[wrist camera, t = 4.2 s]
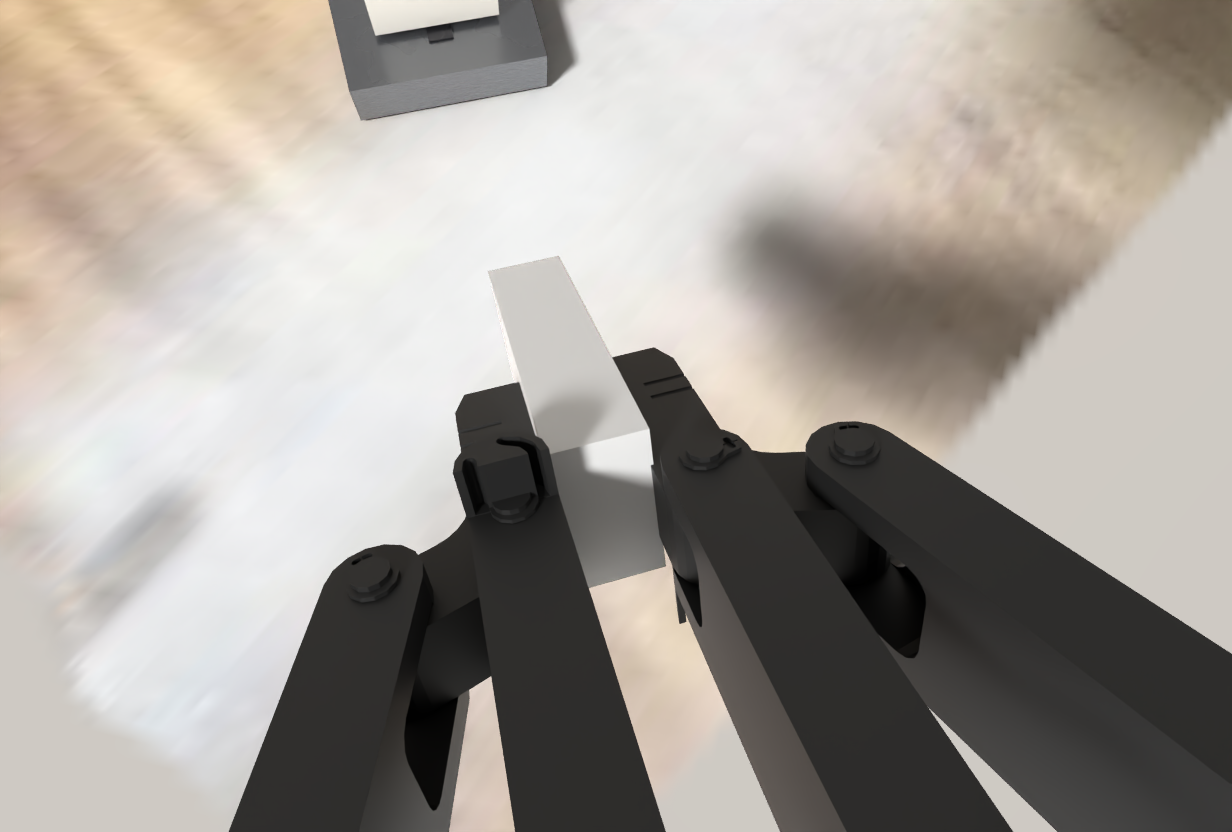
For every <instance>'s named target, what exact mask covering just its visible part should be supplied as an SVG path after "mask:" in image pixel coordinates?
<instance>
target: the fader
mask: <svg viewBox="0 0 1232 832" xmlns="http://www.w3.org/2000/svg"><path fill="white" fill-rule="evenodd" d="M364 1H365V4H366V7H367V11H368V14H369V17H370V20H371V23H372V26H373V30H374V33H375V36H377V35H383V34H389V33H395V32H400V31H406V30H412V29H418V28H424V27H430V26H436V25H441V24H447V23H453V22H459V21H465V20H471V19H476V18H482V17H488V16H494V15H499V7H498V0H364Z"/></svg>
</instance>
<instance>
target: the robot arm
mask: <svg viewBox="0 0 1232 832" xmlns="http://www.w3.org/2000/svg"><path fill="white" fill-rule="evenodd" d="M488 274H489V278H490V283H491V287H492V291H493V295H494V300H495V304H496V308H497V312H498V317H499V321H500V325H501V329H502V334H503V338H504V342H505V347H506V351H507V355H508V359H509V364H510V368H511V372H512V376H513V381H514V383H512V384H508V385H504V386H500V387H495V388H491V389H487V390H483V391H479V392H475V393H470V394H466V395H464V397H463V399H462V401H461V403H460V405H459V407H458V409H457V411H456V413H455V415H456V422H457V428H458V433H459V441H460V446H461V454H460V455H459V456H458V458H457V459H456V460H455V463H454V469H453V475H454V478H455V481H456V484H457V488H458V491H459V494H460V497H461V500H462V504H463V507H464V510H465V513H466V518H465V520H464V521H463V523H462V524H461V525H460V527H459V528H458V529H457V530H456V531H455V532H454V533H453V534H452V535H451V536H450V537H448V538H447V539H446V540H444V541H442V542H441V543H439V544H438V545H436V546H434V547H432V548H431V549H429V550H427V551H425V552H423V553H421V554H419V555H418V554H417V553H416V552H415V551H414V550H411V549H409V548H407V547H405V546H402V545H385V544H384V545H380V546H376V547H372V548H368V549H365V550H363V551H361V552H359V553H357V554H355V555H353V556H351V557H349V558H347V559H346V560H345V561H344V562H343V563H341V564H340V565H339V566H338V567H337V568H336V569H334V570H333V571H332V573H331V575H330V576H329V578H328V579H327V581H326V583H325V584H324V586H323V589H322V591H321V594H320V596H319V599H318V602H317V604H316V607H315V609H314V612H313V614H312V617H311V620H310V622H309V625H308V627H307V630H306V633H305V635H304V638H303V640H302V643H301V646H300V648H299V651H298V653H297V656H296V659H295V661H294V664H293V666H292V669H291V672H290V674H289V677H288V679H287V682H286V684H285V687H284V690H283V692H282V695H281V697H280V700H279V703H278V705H277V708H276V710H275V713H274V716H273V718H272V721H271V723H270V726H269V729H268V731H267V734H266V736H265V739H264V742H263V744H262V747H261V749H260V752H259V755H258V757H257V760H256V762H255V765H254V767H253V770H252V773H251V775H250V778H249V780H248V783H247V786H246V788H245V791H244V793H243V796H242V799H241V801H240V804H239V806H238V809H237V812H236V814H235V817H234V819H233V822H232V825H231V827H230V830H229V832H449V827H450V820H451V814H452V808H453V801H454V795H455V788H456V782H457V776H458V769H459V763H460V756H461V750H462V744H463V737H464V731H465V724H466V718H467V712H468V705H469V699H470V698H469V689H471V688H473V687H474V686H476V685H477V684H479V683H481V682H482V681H484V680H485V679H487V678H489V677H490V676H491V677H492V683H493V690H494V696H495V703H496V709H497V716H498V722H499V729H500V735H501V742H502V748H503V755H504V761H505V768H506V774H507V781H508V787H509V794H510V800H511V807H512V813H513V820H514V826H515V832H666V831H665V828H664V825H663V822H662V818H661V815H660V812H659V809H658V806H657V803H656V799H655V796H654V793H653V790H652V787H651V784H650V780H649V777H648V774H647V771H646V768H645V765H644V761H643V758H642V755H641V752H640V749H639V746H638V743H637V739H636V736H635V733H634V730H633V727H632V724H631V720H630V717H629V714H628V711H627V708H626V705H625V701H624V698H623V695H622V692H621V689H620V686H619V682H618V679H617V676H616V673H615V670H614V667H613V663H612V660H611V657H610V654H609V651H608V648H607V645H606V641H605V638H604V635H603V632H602V629H601V626H600V622H599V619H598V616H597V613H596V610H595V607H594V603H593V600H592V597H591V594H590V591H589V588H590V587H594V586H597V585H601V584H605V583H608V582H612V581H615V580H619V579H622V578H626V577H629V576H633V575H637V574H640V573H644V572H647V571H651V570H654V569H658V568H661V567H665V566H666V564H665V556H664V548H665V550H666V552H667V554H668V556H669V559H670V561H671V563H672V566H673V575H674V584H675V593H676V602H677V611H678V617H679V624H681V623H684V622H686V615H687V618H688V620H689V622H690V625H691V627H692V629H693V632H694V634H695V636H696V639H697V641H698V643H699V645H700V648H701V650H702V652H703V655H704V657H705V659H706V662H707V664H708V666H709V668H710V671H711V673H712V675H713V678H714V680H715V682H716V685H717V687H718V689H719V692H720V694H721V696H722V698H723V701H724V703H725V705H726V708H727V710H728V712H729V715H730V717H731V719H732V722H733V724H734V726H735V728H736V731H737V733H738V735H739V738H740V739H741V742H742V745H743V747H744V749H745V751H746V754H747V756H748V758H749V761H750V763H751V765H752V768H753V770H754V772H755V774H756V777H757V779H758V781H759V784H760V786H761V788H762V791H763V793H764V795H765V797H766V800H767V802H768V804H769V807H770V809H771V811H772V813H773V816H774V818H775V821H776V823H777V825H778V827H779V830H780V832H1013V831H1012V829H1011V828H1010V827H1009V825H1008V824H1007V822H1006V821H1005V819H1004V818H1003V817H1002V815H1001V813H1000V812H999V811H998V809H997V808H996V806H995V805H994V803H993V802H992V800H991V799H990V798H989V796H988V795H987V793H986V791H985V790H984V789H983V787H982V786H981V785H980V783H979V781H978V780H977V778H976V777H975V775H974V774H973V772H972V771H971V770H970V768H969V767H968V765H967V764H966V762H965V761H964V759H963V758H962V757H961V755H960V754H959V752H958V751H957V749H956V748H955V746H954V745H953V743H952V742H951V740H950V739H949V737H948V736H947V735H946V733H945V732H944V730H943V729H942V727H941V726H940V724H939V723H938V721H937V720H936V719H935V717H934V716H933V714H932V713H931V711H930V710H929V708H930V709H931V710H932V711H933V712H934V713H935V714H936V715H937V716H938V717H939V718H940V719H941V720H942V721H943V722H944V723H945V724H946V725H947V726H948V727H949V728H950V729H951V730H953V731H954V732H955V733H956V734H957V735H958V736H959V737H960V738H961V739H962V740H963V741H964V742H965V743H966V744H967V745H968V746H969V747H970V748H971V749H972V750H973V751H974V752H975V753H976V754H977V755H979V756H980V757H981V758H982V759H983V760H984V761H985V762H986V763H987V764H988V765H989V766H990V767H991V768H992V769H993V770H994V771H995V772H996V773H997V774H998V775H999V776H1000V777H1001V778H1002V779H1003V780H1004V781H1005V782H1007V784H1009V785H1010V786H1011V787H1012V788H1013V789H1014V790H1015V791H1016V792H1017V793H1018V794H1019V795H1020V796H1021V797H1022V798H1023V799H1024V800H1025V801H1026V802H1027V803H1028V804H1029V805H1030V806H1031V807H1033V809H1034V810H1036V811H1037V812H1038V813H1039V814H1040V815H1041V816H1042V817H1043V818H1044V819H1045V820H1046V821H1047V822H1048V823H1049V824H1050V825H1051V826H1052V827H1053V828H1054V829H1055V830H1056V831H1057V832H1232V654H1231V653H1230V652H1228V651H1226V650H1225V649H1223V648H1222V647H1220V646H1219V645H1217V644H1215V643H1214V642H1213V641H1211V640H1209V639H1208V638H1206V637H1205V636H1203V635H1202V634H1200V633H1199V632H1197V631H1196V630H1194V629H1192V628H1191V627H1189V626H1188V625H1186V624H1185V623H1183V622H1182V621H1180V620H1179V619H1177V618H1176V617H1174V616H1172V615H1171V614H1169V613H1168V612H1166V611H1164V610H1163V609H1162V608H1160V607H1158V606H1157V605H1155V604H1154V603H1152V602H1151V601H1149V600H1148V599H1146V598H1145V597H1143V596H1142V595H1140V594H1139V593H1137V592H1135V591H1134V590H1132V589H1131V588H1129V587H1128V586H1126V585H1125V584H1123V583H1121V582H1120V581H1118V580H1117V579H1115V578H1114V577H1112V576H1111V575H1109V574H1107V573H1106V572H1105V571H1103V570H1102V569H1100V568H1098V567H1097V566H1095V565H1094V564H1092V563H1091V562H1089V561H1087V560H1086V559H1084V558H1083V557H1081V556H1080V555H1078V554H1077V553H1075V552H1073V551H1072V550H1071V549H1069V548H1067V547H1066V546H1064V545H1063V544H1061V543H1060V542H1058V541H1057V540H1055V539H1053V538H1052V537H1051V536H1049V535H1047V534H1046V533H1044V532H1043V531H1041V530H1040V529H1038V528H1037V527H1035V526H1034V525H1032V524H1030V523H1029V522H1027V521H1026V520H1024V519H1023V518H1021V517H1020V516H1018V515H1017V514H1015V513H1013V512H1012V511H1011V510H1009V509H1007V508H1006V507H1004V506H1003V505H1001V504H999V503H998V502H997V501H995V500H994V499H992V498H990V497H989V496H987V495H986V494H984V493H983V492H981V491H980V490H978V489H977V488H975V487H973V486H972V485H970V484H969V483H967V482H966V481H964V480H963V479H961V478H960V477H958V476H957V475H955V474H953V473H952V472H950V471H949V470H947V469H946V468H944V467H943V466H941V465H940V464H938V463H937V462H935V461H933V460H932V459H930V458H929V457H927V456H926V455H924V454H923V453H921V452H920V451H918V450H916V449H915V448H913V447H912V446H910V445H909V444H907V443H906V442H904V441H903V440H901V439H900V438H898V437H896V436H895V435H893V434H892V433H890V432H889V431H886V430H884V429H882V428H880V427H878V426H875V425H872V424H867V423H862V422H856V421H855V422H837V423H833V424H830V425H827V426H823V427H821V428H820V429H818V430H817V431H816V432H814V433H813V434H811V436H810V438H809V440H808V442H807V444H806V452H787V453H767V452H759V451H753V450H751V448H750V447H749V445H748V444H747V443H746V442H745V441H744V440H742V439H741V438H740V437H739V436H738V435H736V434H733V433H731V432H728V431H725V430H721V429H720V428H719V427H718V425H717V424H716V422H715V421H714V419H713V418H712V416H711V414H710V413H709V411H708V410H707V408H706V407H705V405H704V404H703V402H702V401H701V399H700V398H699V396H698V395H697V393H696V392H695V390H694V389H692V386H691V384H690V383H689V381H688V380H687V378H686V376H685V377H684V374H683V372H682V370H681V369H680V367H679V366H678V364H677V363H676V361H675V360H674V358H672V357H670V356H669V355H667V354H665V353H663V352H661V351H659V350H658V349H656V348H650V349H645V350H641V351H637V352H633V353H629V354H625V355H620V356H616V357H612V356H611V355H610V353H609V351H608V349H607V347H606V345H605V343H604V341H603V339H602V337H601V335H600V333H599V332H598V330H597V328H596V326H595V324H594V322H593V320H592V318H591V316H590V314H589V312H588V311H587V309H586V307H585V305H584V303H583V301H582V299H581V297H580V295H579V293H578V291H577V290H576V288H575V286H574V284H573V282H572V280H571V278H570V276H569V274H568V272H567V270H566V268H565V267H564V265H563V263H562V261H561V259H560V257H559V256H556V257H551V258H547V259H542V260H538V261H533V262H528V263H524V264H519V265H515V266H510V267H506V268H501V269H496V270H492V271H488ZM663 545H664V547H663ZM685 613H686V615H685ZM927 706H928V707H929V708H928V707H927Z"/></svg>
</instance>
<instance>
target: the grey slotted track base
mask: <svg viewBox="0 0 1232 832" xmlns="http://www.w3.org/2000/svg"><path fill="white" fill-rule="evenodd" d="M328 1H329V5H330V10H331V14H332V18H333V23H334V27H335V31H336V36H337V40H338V44H339V49H340V53H341V57H342V62H343V66H344V70H345V75H346V79H347V83H348V88H349V92H350V94H351V97H352V99H353V102H354V104H355V107H356V109H357V111H358V114H359V116H360V119H361V120H366V119H372V118H377V117H383V116H388V115H393V114H399V113H404V112H410V111H415V110H420V109H426V108H431V107H436V106H442V105H447V104H453V103H458V102H463V101H469V100H474V99H480V98H485V97H490V96H496V95H501V94H506V93H512V92H517V91H523V90H528V89H533V88H539V87H544V86H547V54H546V50H545V46H544V43H543V39H542V36H541V32H540V29H539V25H538V22H537V18H536V14H535V11H534V7H533V4H532V0H498V7H499V15H494V16H488V17H482V18H476V19H471V20H465V21H459V22H453V23H447V24H441V25H436V26H430V27H424V28H418V29H412V30H406V31H400V32H395V33H389V34H383V35H377V36H375V33H374V30H373V26H372V23H371V20H370V17H369V14H368V11H367V7H366V4H365V1H364V0H328Z"/></svg>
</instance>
